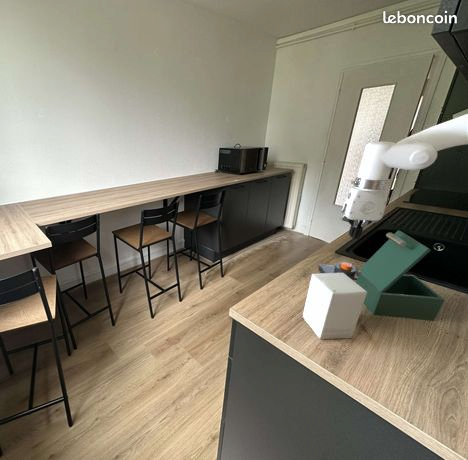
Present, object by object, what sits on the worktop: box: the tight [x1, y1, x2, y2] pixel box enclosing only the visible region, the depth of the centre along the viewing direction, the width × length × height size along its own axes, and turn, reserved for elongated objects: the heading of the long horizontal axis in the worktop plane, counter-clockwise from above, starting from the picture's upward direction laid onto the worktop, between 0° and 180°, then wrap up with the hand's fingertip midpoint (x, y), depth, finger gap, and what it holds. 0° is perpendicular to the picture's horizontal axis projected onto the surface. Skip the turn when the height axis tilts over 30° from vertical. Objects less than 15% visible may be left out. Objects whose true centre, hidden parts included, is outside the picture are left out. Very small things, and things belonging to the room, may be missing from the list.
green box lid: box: [359, 229, 432, 293], centre depth 70 cm, size 15×12×5 cm
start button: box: [340, 261, 353, 270], centre depth 90 cm, size 3×3×2 cm
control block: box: [317, 262, 358, 281], centre depth 91 cm, size 10×8×4 cm
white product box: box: [302, 273, 367, 340], centre depth 67 cm, size 9×9×15 cm
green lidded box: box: [355, 270, 445, 322], centre depth 74 cm, size 15×12×9 cm
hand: (353, 237), depth 85 cm, fingers closed
